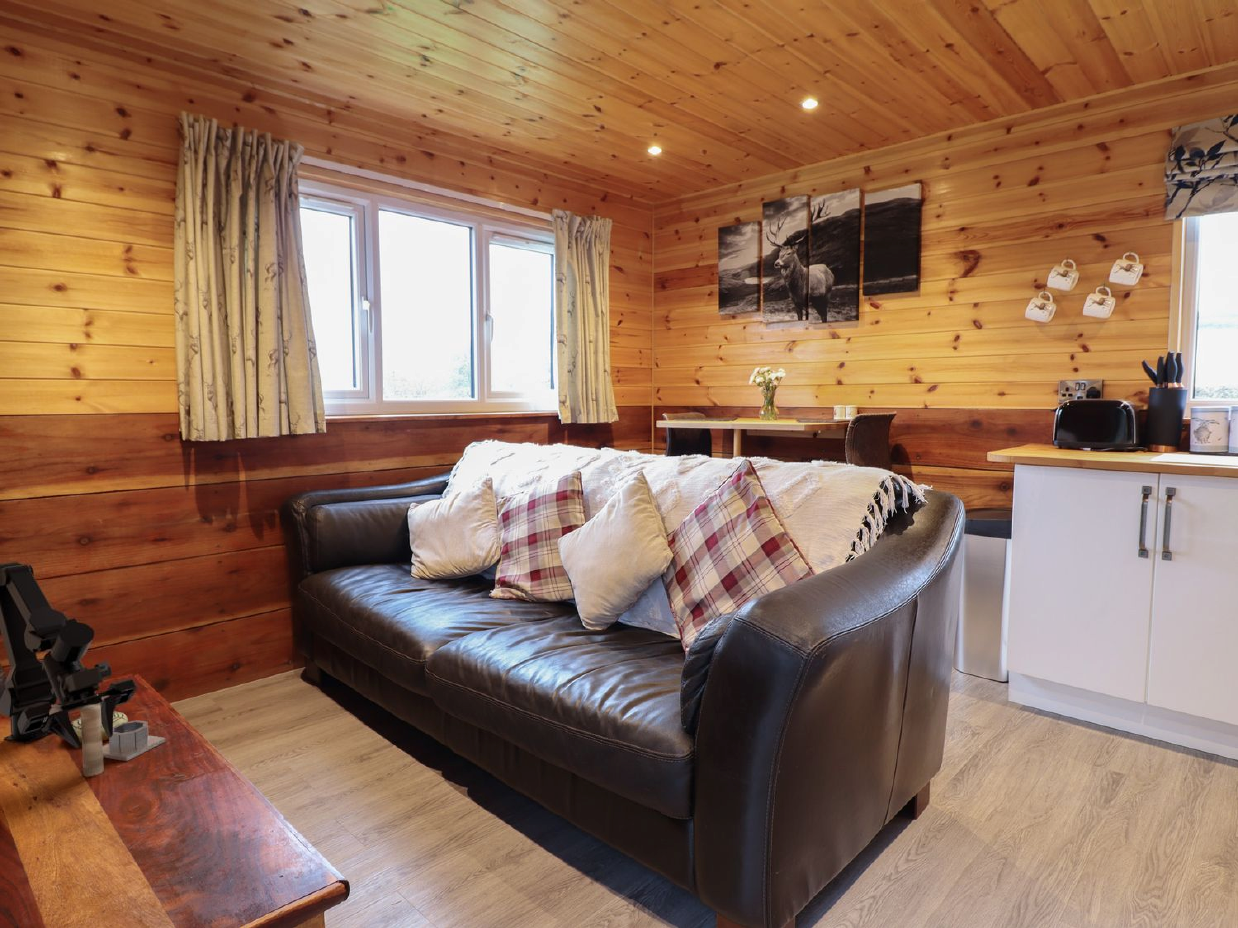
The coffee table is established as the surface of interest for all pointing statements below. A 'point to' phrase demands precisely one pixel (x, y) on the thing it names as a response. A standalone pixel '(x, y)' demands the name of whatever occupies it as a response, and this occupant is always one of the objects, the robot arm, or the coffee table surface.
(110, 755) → the cup bracket
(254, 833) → the coffee table surface
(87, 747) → the wooden post
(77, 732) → the decorated donut
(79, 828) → the coffee table surface
